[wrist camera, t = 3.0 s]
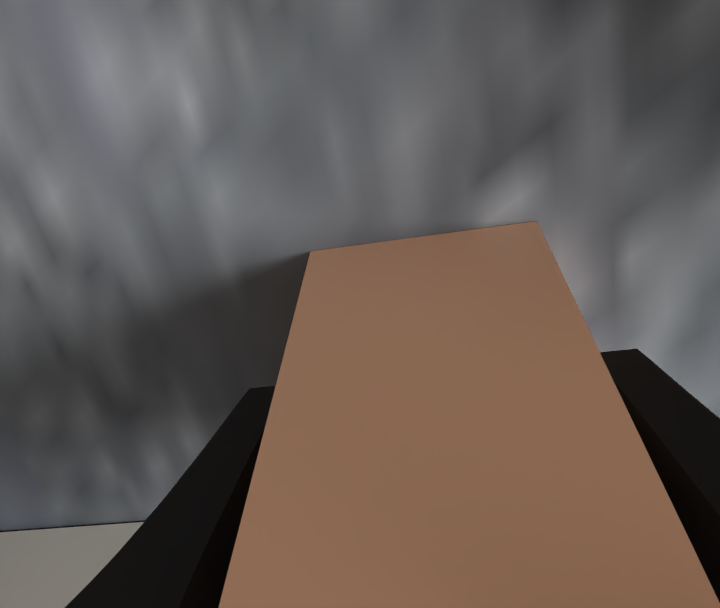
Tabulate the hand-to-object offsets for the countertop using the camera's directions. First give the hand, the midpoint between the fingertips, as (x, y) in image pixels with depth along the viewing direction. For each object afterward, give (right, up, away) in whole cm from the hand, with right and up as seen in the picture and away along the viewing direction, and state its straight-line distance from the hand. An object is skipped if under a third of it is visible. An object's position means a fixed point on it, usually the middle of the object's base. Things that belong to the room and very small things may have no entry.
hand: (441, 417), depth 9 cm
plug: (0, +1, +2) cm, 2 cm away
